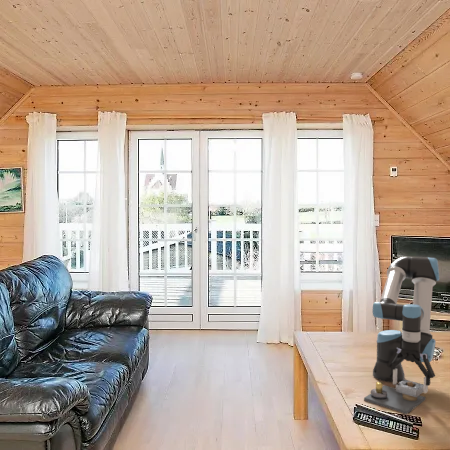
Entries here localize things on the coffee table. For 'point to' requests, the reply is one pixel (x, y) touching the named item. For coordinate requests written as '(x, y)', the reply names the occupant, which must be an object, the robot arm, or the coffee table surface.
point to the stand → (408, 397)
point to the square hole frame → (410, 388)
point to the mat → (395, 401)
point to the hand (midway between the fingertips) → (409, 387)
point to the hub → (379, 392)
